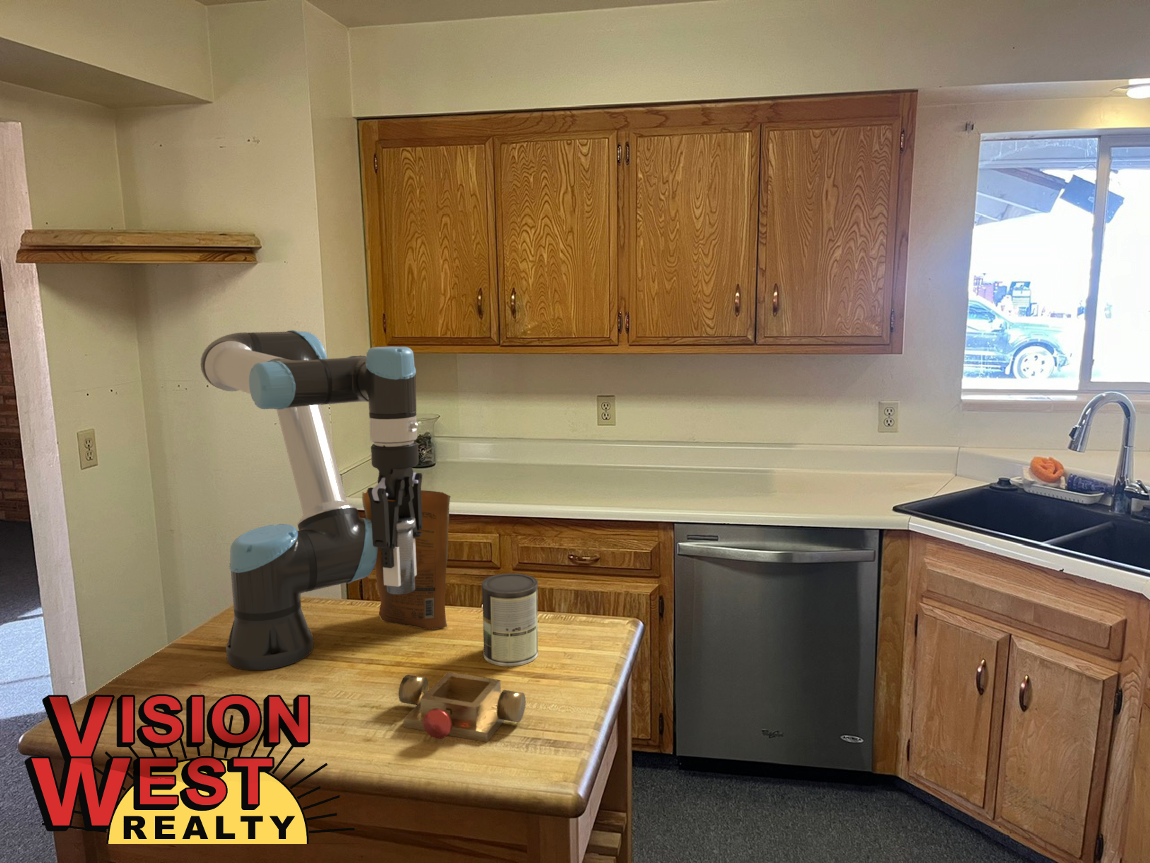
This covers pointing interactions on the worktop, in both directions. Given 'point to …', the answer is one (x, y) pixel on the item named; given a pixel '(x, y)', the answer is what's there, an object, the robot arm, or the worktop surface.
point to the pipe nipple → (405, 556)
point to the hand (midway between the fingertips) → (400, 579)
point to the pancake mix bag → (420, 568)
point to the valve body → (460, 706)
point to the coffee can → (510, 619)
